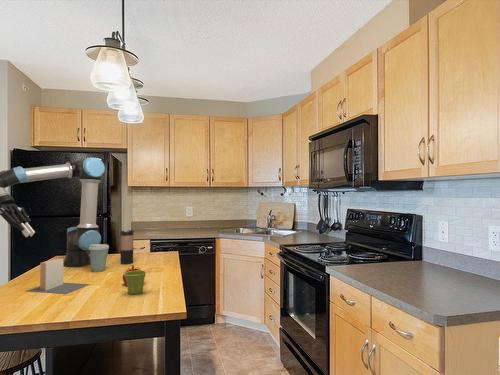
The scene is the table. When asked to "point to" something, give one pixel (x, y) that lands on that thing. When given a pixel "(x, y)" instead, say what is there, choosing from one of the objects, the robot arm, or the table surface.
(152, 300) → the table surface
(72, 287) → the mat
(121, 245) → the travel mug
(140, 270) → the pomegranate
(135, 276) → the plant pot
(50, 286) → the tile
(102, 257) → the disposable coffee cup
